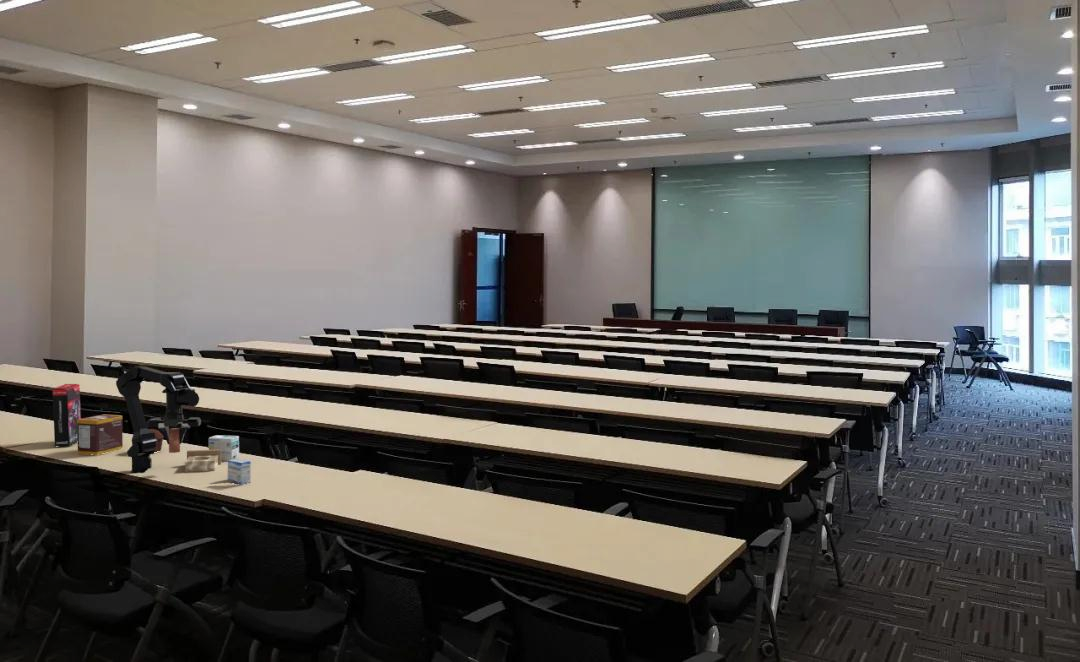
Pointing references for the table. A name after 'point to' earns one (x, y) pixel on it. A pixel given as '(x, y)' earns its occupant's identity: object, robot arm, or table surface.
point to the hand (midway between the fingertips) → (174, 444)
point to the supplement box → (99, 434)
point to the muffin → (159, 439)
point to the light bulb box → (225, 446)
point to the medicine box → (239, 471)
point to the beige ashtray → (201, 463)
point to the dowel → (174, 440)
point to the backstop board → (205, 453)
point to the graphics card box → (66, 414)
